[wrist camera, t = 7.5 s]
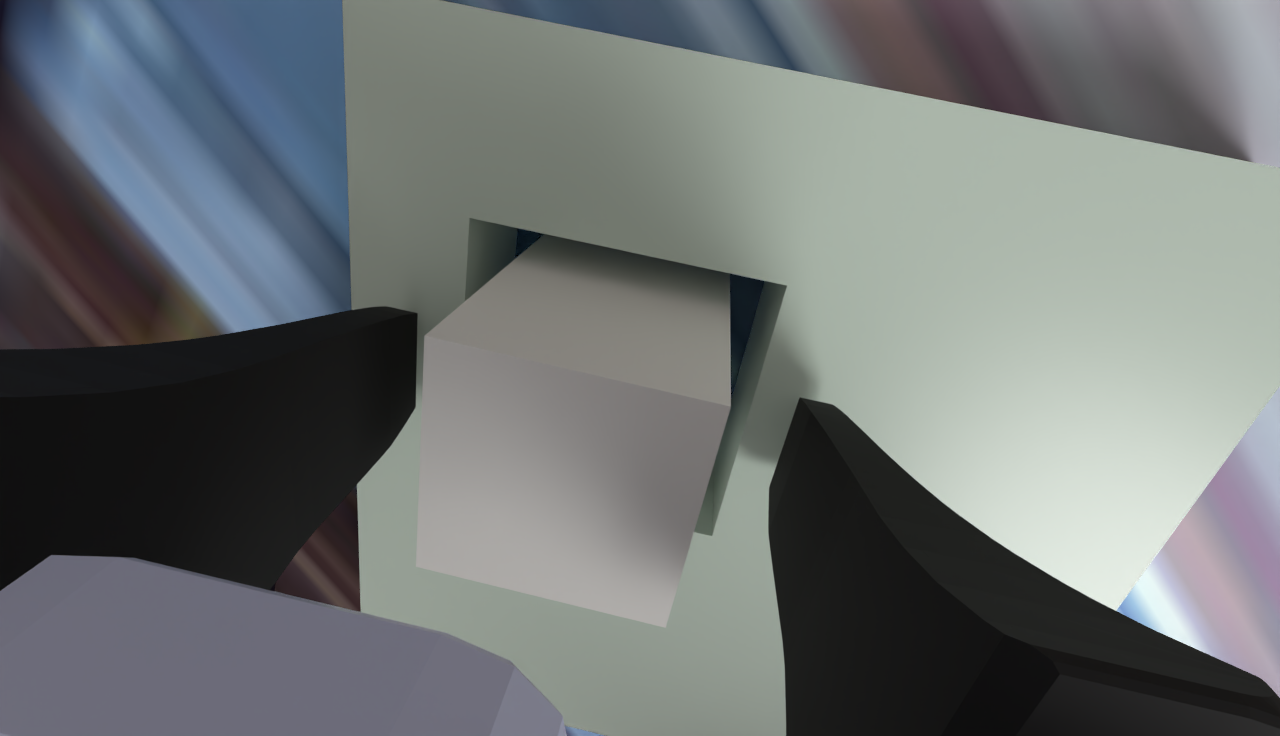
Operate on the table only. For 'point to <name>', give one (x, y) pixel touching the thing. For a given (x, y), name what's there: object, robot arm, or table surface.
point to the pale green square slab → (810, 316)
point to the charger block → (575, 426)
